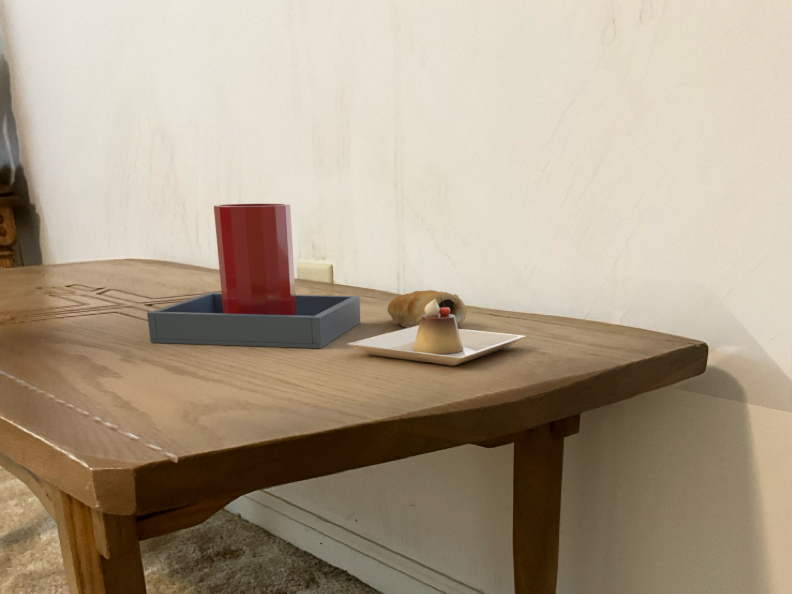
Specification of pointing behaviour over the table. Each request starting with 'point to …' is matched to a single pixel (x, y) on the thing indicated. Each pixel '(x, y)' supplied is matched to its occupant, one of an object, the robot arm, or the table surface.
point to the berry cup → (256, 258)
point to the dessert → (436, 340)
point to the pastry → (423, 306)
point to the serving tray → (255, 323)
